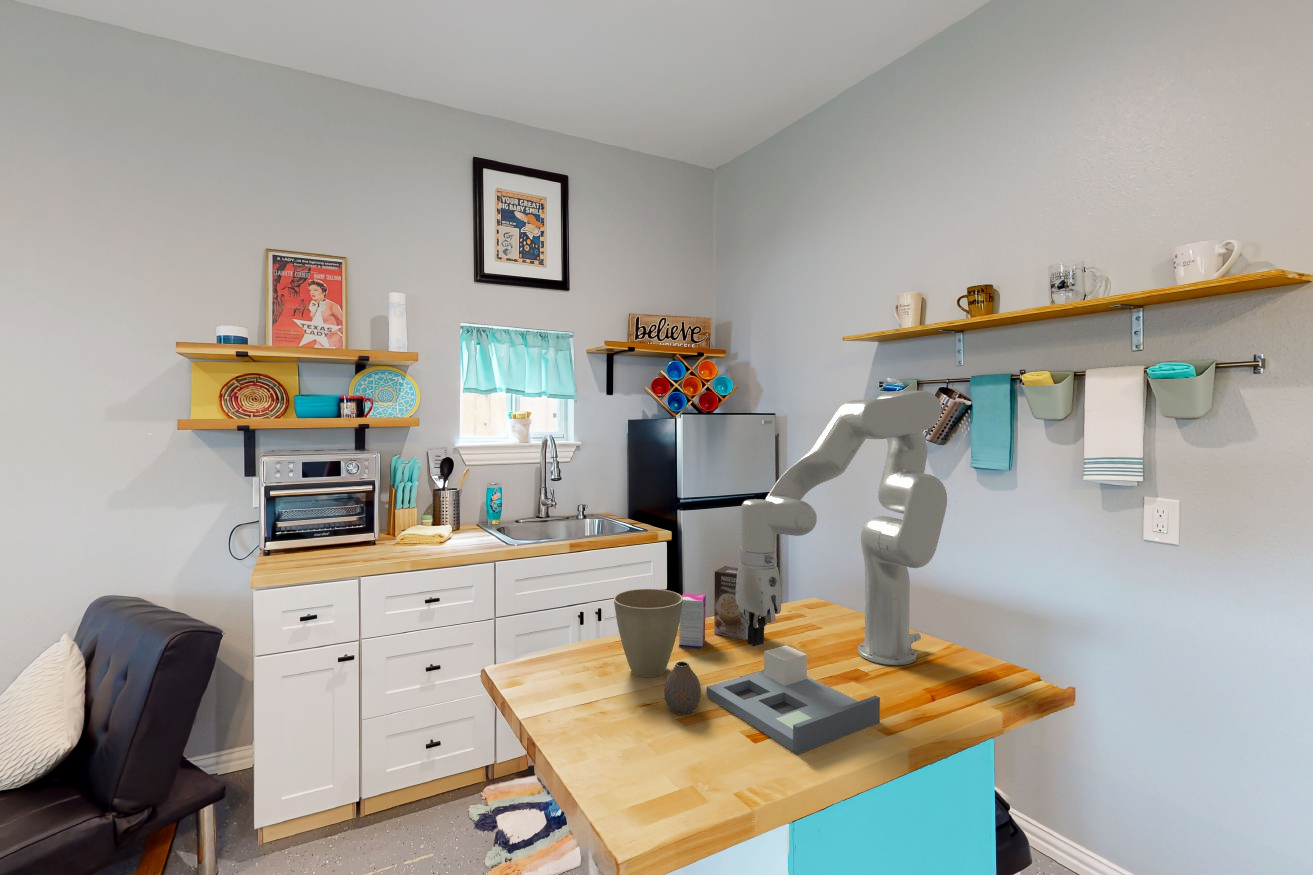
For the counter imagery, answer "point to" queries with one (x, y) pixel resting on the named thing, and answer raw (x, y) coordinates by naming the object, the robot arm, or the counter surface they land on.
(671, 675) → the vase
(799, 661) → the cream block
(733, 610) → the coffee box
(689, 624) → the supplement box
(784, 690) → the board
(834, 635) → the counter surface
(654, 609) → the plant pot
